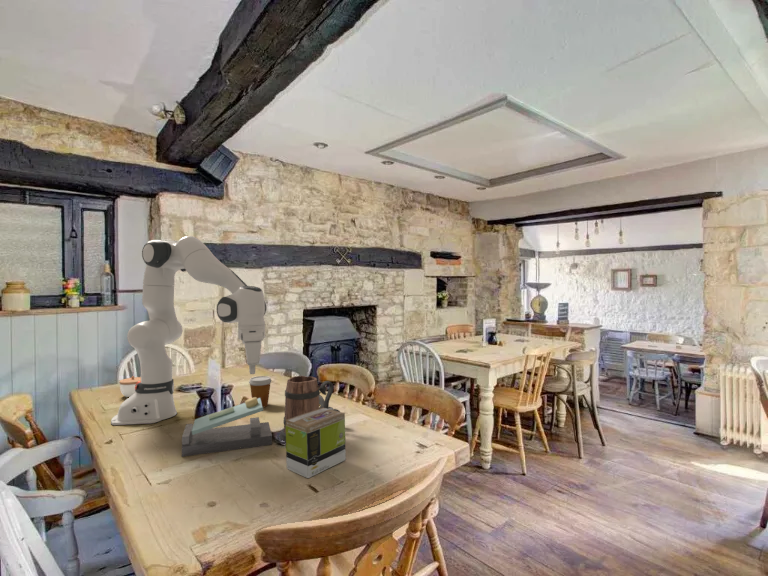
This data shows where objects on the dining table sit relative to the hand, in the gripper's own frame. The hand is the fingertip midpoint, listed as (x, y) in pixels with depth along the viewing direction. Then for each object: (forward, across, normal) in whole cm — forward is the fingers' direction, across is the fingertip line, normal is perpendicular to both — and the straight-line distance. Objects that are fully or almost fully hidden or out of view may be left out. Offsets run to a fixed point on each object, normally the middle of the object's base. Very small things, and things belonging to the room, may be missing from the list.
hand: (252, 373), depth 138 cm
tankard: (+23, +1, +20) cm, 30 cm away
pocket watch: (+23, -21, +29) cm, 42 cm away
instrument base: (+23, 0, -8) cm, 24 cm away
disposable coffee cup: (+23, -39, +5) cm, 46 cm away
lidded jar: (+22, -76, -51) cm, 94 cm away
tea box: (+23, +27, +17) cm, 39 cm away
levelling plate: (+14, 0, -8) cm, 16 cm away
